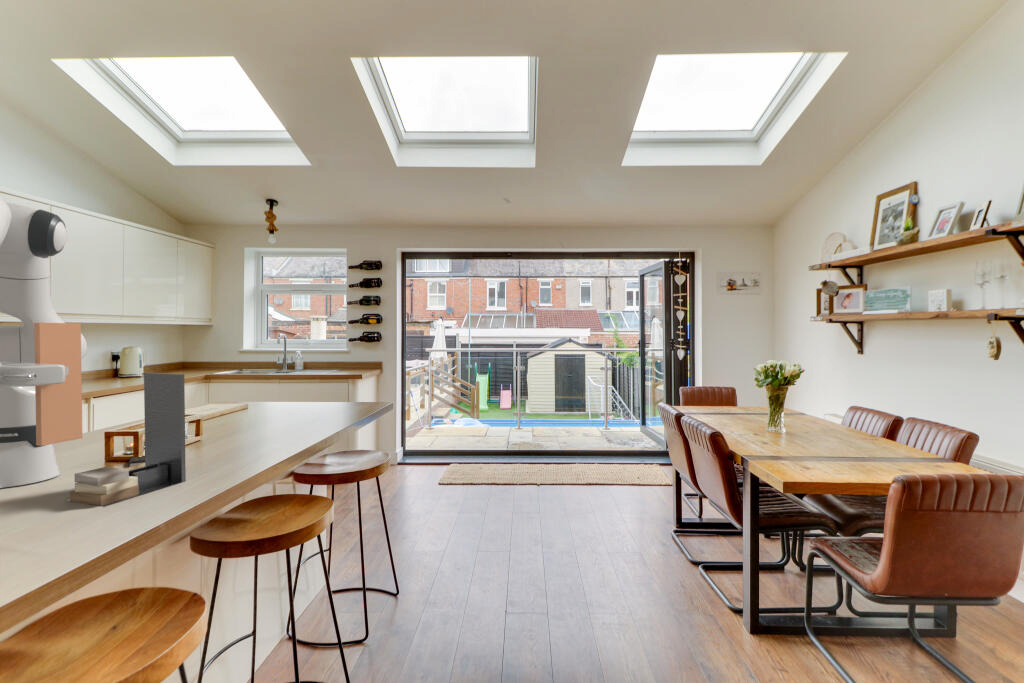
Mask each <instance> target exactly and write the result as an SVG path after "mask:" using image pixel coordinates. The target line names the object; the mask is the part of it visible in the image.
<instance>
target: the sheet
mask: <svg viewBox="0 0 1024 683" xmlns="http://www.w3.org/2000/svg"><path fill="white" fill-rule="evenodd" d="M81 334H82V324H81V323H79V322H78V323H76V322H73V323H72V322H65V323H34V341H35V363H38V364H61V365H64V366H66V367H68V368H69V374H68V375H65V382H64V383H61V384H53V385H40V386H35V399H36V445H39V446H43V445H49V444H60V443H65V442H70V441H76V440H83V392H82V391H83V385H82V384H83V383H82V380H83V378H82V373H83V372H82V360H81Z"/></svg>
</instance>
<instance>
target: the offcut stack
mask: <svg viewBox="0 0 1024 683" xmlns="http://www.w3.org/2000/svg"><path fill="white" fill-rule="evenodd" d="M129 470H130V469H129ZM129 470H128V469H121V468H115V467H110V466H103V467H99V468H94V469H90V470H86V471H82V472H77V473H74V490H71V491H70V492H69V499H70V501H69V502H71V501H75V502H74V503H77V502H81V503H80V504H83V503H88V504H87V505H89V504H94V505H93V506H95V505H100V506H99V507H102V505H105V504H109V503H112V502H115V501H118V500H122V499H125V498H128V497H131V496H135V495H138V494H139V485H138V477H134V476H129Z"/></svg>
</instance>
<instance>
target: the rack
mask: <svg viewBox="0 0 1024 683" xmlns="http://www.w3.org/2000/svg"><path fill="white" fill-rule="evenodd" d="M143 389H144V391H143V393H144V394H143V395H144V397H143V398H144V400H143V401H144V404H143V405H144V407H143V408H144V449H145V463H144V464H145V466H140V467H136V468H133V469H129V476H134V477H138V485H139V494H138V495H135V496H131V497H128V498H125V499H122V500H118V501H115V502H112V503H109V504H105V505H102V506H100V505H94V504H88V503H81V502H75V501H70V498H69V499H65V501H66V502H72V503H76V504H77V503H79V504H84V505H91V506H94V507H95V506H97V507H102V508H106V507H108V506H111V505H115V504H118V503H121V502H124V501H127V500H131V499H135V498H137V497H141V496H144V495H147V494H151V493H153V492H156V491H160V490H163V489H166V488H169V487H172V486H176V485H179V484H182V483H185V482H186V481H187V480H186V479H187V478H186V474H187V473H186V471H187V470H186V416H185V415H186V412H185V411H186V410H185V409H186V408H185V407H186V406H185V405H186V403H185V402H186V400H185V393H186V392H185V389H186V388H185V374H184V373H162V372H144V373H143Z"/></svg>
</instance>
